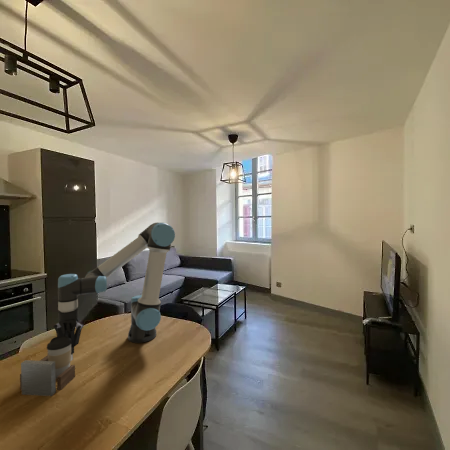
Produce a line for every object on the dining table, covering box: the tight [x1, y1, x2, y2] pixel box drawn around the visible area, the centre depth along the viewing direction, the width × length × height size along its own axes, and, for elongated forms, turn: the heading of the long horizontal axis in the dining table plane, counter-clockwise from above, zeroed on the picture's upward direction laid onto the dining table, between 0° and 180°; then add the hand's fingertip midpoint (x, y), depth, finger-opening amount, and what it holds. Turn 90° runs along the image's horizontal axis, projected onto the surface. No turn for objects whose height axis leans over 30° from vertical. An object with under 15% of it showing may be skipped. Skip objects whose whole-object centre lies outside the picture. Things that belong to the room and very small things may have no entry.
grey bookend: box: [20, 359, 57, 397], centre depth 95 cm, size 12×2×12 cm, turn 85°
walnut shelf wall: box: [19, 354, 76, 391], centre depth 106 cm, size 16×19×6 cm
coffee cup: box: [46, 336, 72, 380], centre depth 107 cm, size 9×9×15 cm
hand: (69, 360), depth 113 cm, fingers closed
